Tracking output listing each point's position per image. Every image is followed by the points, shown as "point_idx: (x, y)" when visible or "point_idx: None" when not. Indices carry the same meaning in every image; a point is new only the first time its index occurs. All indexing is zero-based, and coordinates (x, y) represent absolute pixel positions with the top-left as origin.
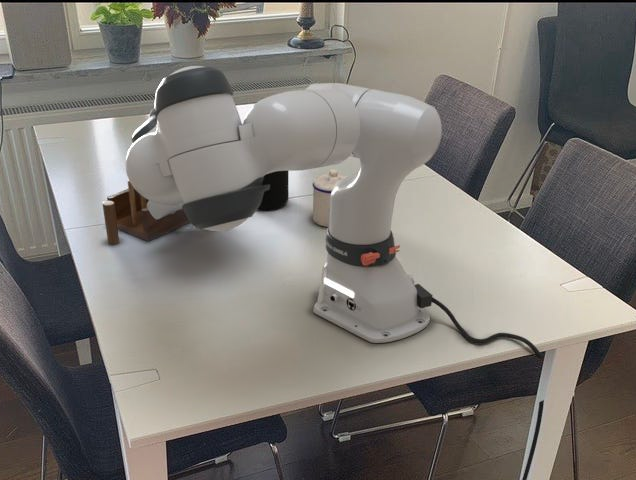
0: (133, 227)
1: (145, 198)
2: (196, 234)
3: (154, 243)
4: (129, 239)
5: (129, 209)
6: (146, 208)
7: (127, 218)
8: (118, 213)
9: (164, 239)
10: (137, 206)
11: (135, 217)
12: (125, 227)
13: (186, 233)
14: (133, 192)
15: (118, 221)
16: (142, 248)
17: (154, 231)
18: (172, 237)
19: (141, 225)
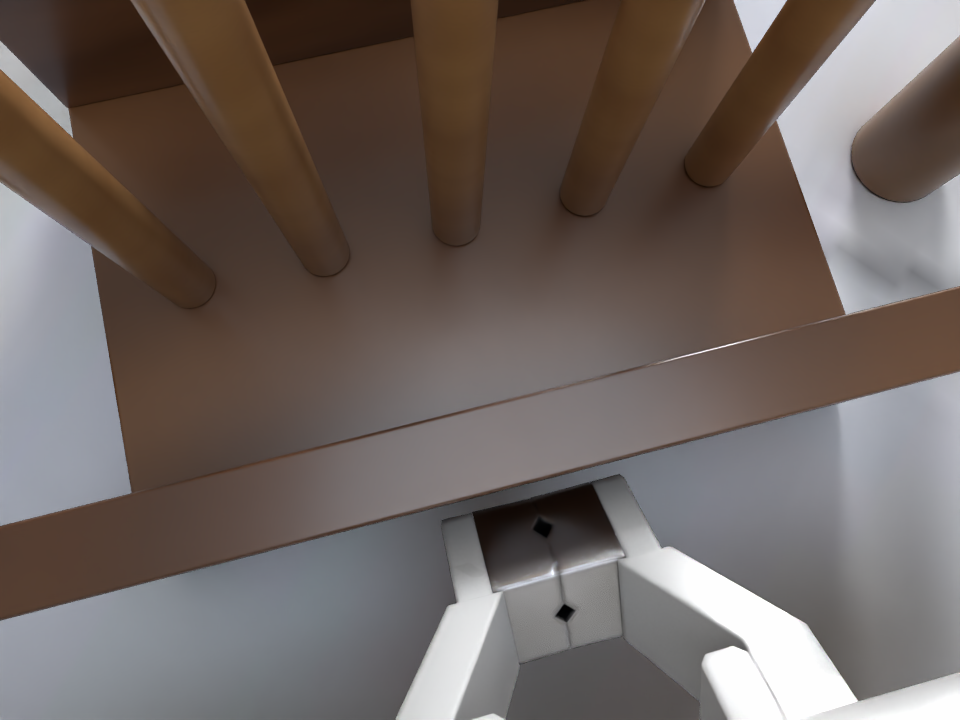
0: (140, 328)
1: (285, 166)
2: (633, 716)
3: (199, 644)
4: (68, 421)
5: (258, 30)
6: (50, 542)
7: (208, 120)
8: (107, 57)
9: (323, 623)
10: (366, 10)
11: (151, 281)
12: (98, 264)
13: None
14: None
15: (103, 129)
16: (49, 673)
17: (240, 558)
18: (407, 630)
19: (225, 337)
